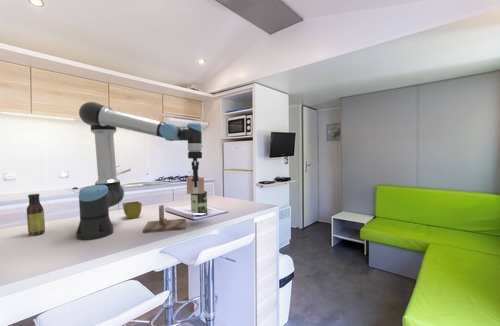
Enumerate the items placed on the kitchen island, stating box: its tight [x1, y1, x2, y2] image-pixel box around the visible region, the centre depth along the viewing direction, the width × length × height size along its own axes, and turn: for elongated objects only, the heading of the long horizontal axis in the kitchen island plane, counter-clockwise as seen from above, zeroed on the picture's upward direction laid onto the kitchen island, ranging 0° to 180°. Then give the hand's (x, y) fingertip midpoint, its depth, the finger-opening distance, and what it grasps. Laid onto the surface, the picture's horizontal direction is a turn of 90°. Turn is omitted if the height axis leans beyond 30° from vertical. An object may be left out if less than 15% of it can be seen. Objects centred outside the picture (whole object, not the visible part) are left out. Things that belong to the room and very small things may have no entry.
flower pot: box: [122, 201, 143, 220], centre depth 145 cm, size 9×9×9 cm
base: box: [142, 204, 187, 234], centre depth 125 cm, size 20×15×12 cm
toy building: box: [186, 176, 205, 195], centre depth 131 cm, size 9×9×8 cm
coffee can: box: [190, 190, 208, 213], centre depth 151 cm, size 10×10×14 cm
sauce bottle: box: [26, 193, 46, 236], centre depth 116 cm, size 7×6×20 cm
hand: (195, 191), depth 131 cm, fingers closed on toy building, 9 cm apart
